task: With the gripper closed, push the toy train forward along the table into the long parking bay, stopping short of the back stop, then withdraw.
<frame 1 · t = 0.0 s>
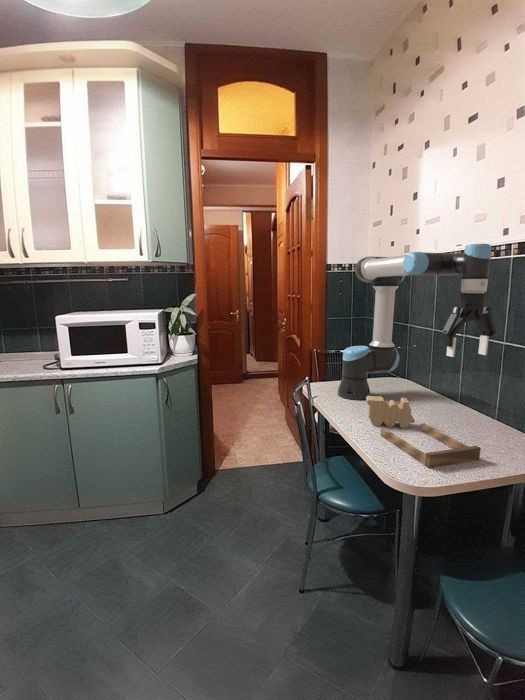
hand: (466, 355, 119), 28 cm above the table, fingers open, 13 cm apart
bay: (424, 445, 114), on the table
toy train: (388, 424, 132), on the table
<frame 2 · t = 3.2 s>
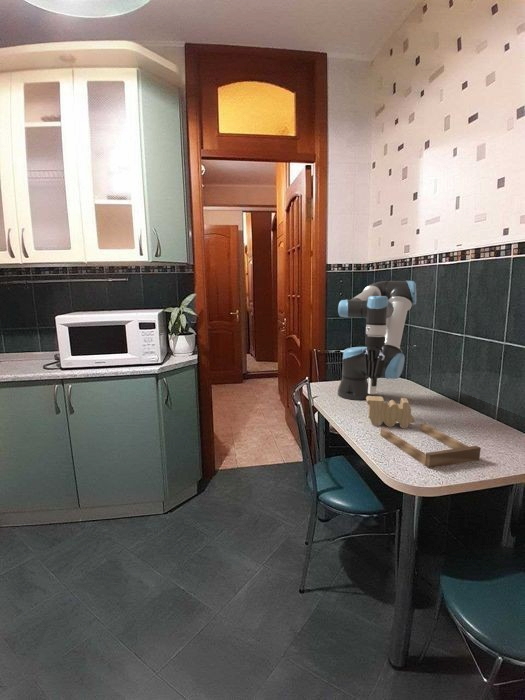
hand: (371, 393, 141), 9 cm above the table, fingers closed
nothing on the table moved.
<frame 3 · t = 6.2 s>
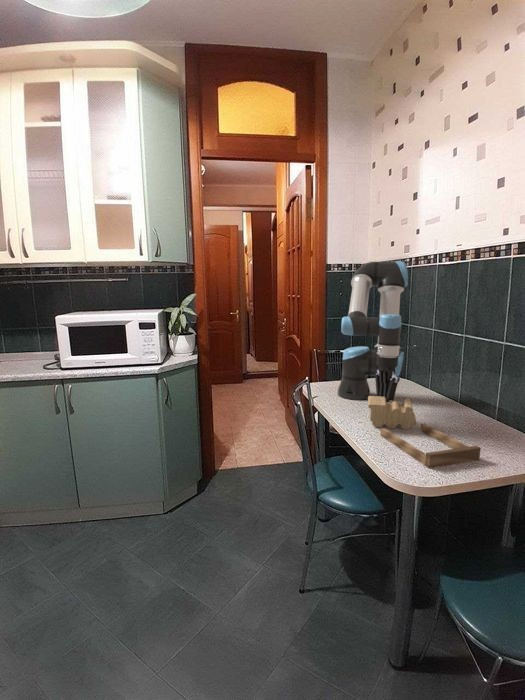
hand: (383, 416, 134), 2 cm above the table, fingers closed
toy train: (390, 424, 130), point 1 cm above the table, touching gripper, hand
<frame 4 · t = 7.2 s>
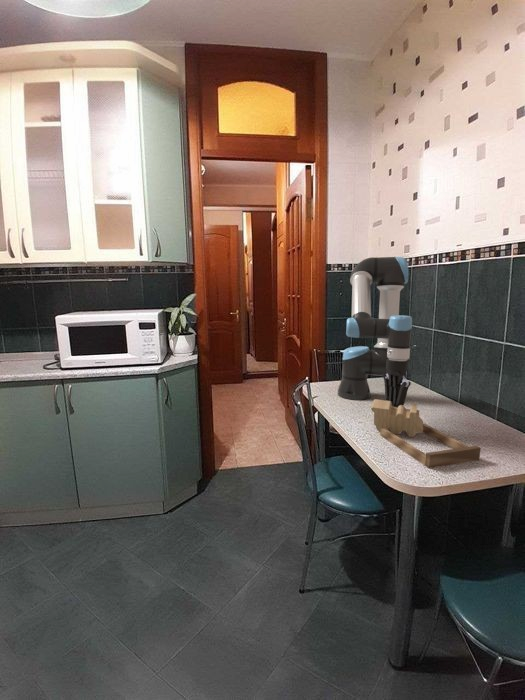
hand: (393, 421, 129), 2 cm above the table, fingers closed
toy train: (396, 430, 125), on the table, touching gripper, hand
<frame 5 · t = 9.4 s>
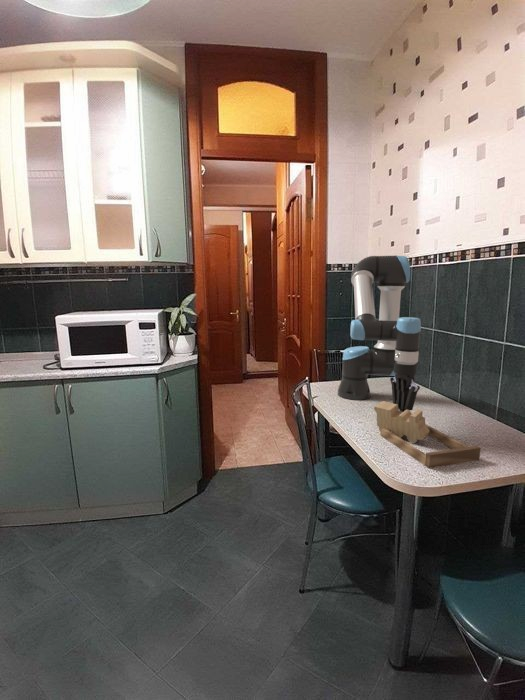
hand: (401, 426, 125), 2 cm above the table, fingers closed
toy train: (400, 435, 121), on the table
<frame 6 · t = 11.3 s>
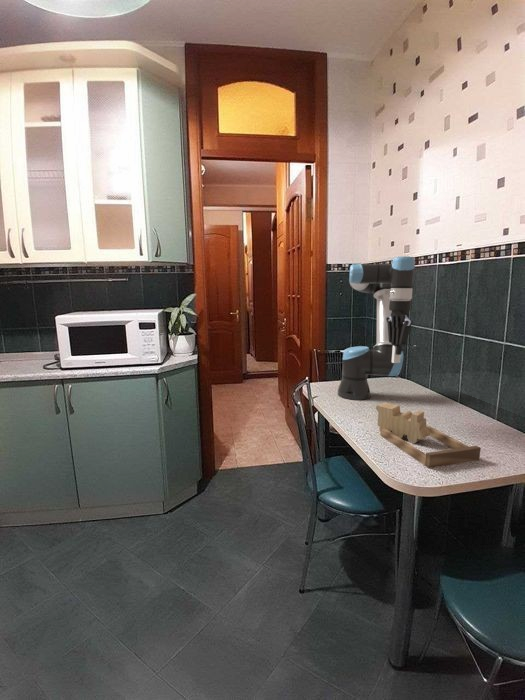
hand: (395, 362, 133), 23 cm above the table, fingers closed
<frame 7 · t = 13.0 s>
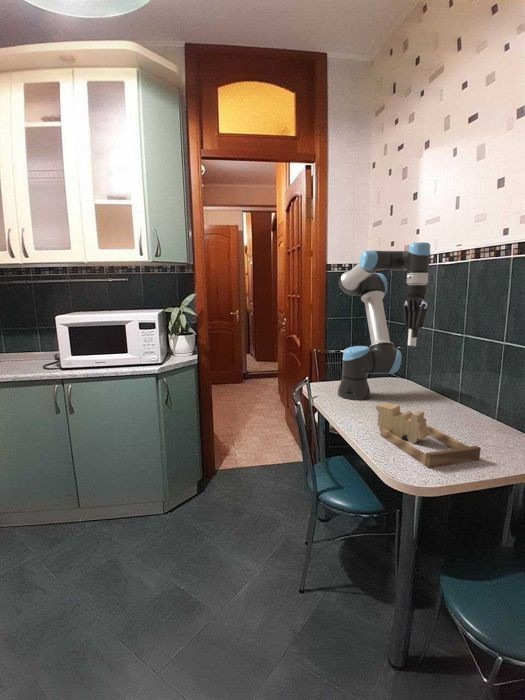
hand: (411, 345, 138), 28 cm above the table, fingers closed
nothing on the table moved.
at the end: toy train inside the target area (3.7 cm from its centre), on the table; toy train tilted 0°; toy train moved 10.8 cm from its start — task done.
